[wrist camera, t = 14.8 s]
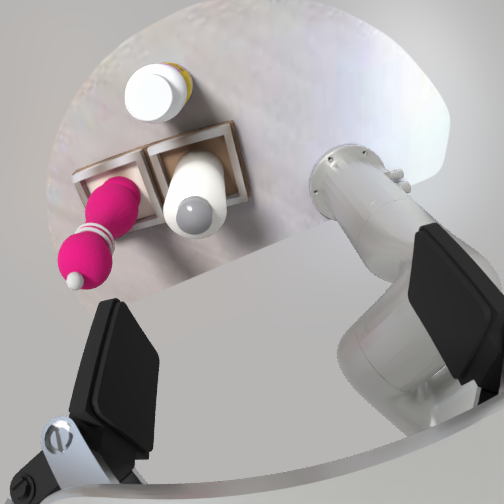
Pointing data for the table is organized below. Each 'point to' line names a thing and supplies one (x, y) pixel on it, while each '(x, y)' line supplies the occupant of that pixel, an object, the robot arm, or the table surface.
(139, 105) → the supplement bottle
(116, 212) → the pepper mill
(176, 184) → the salt shaker
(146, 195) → the rail
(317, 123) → the table surface
